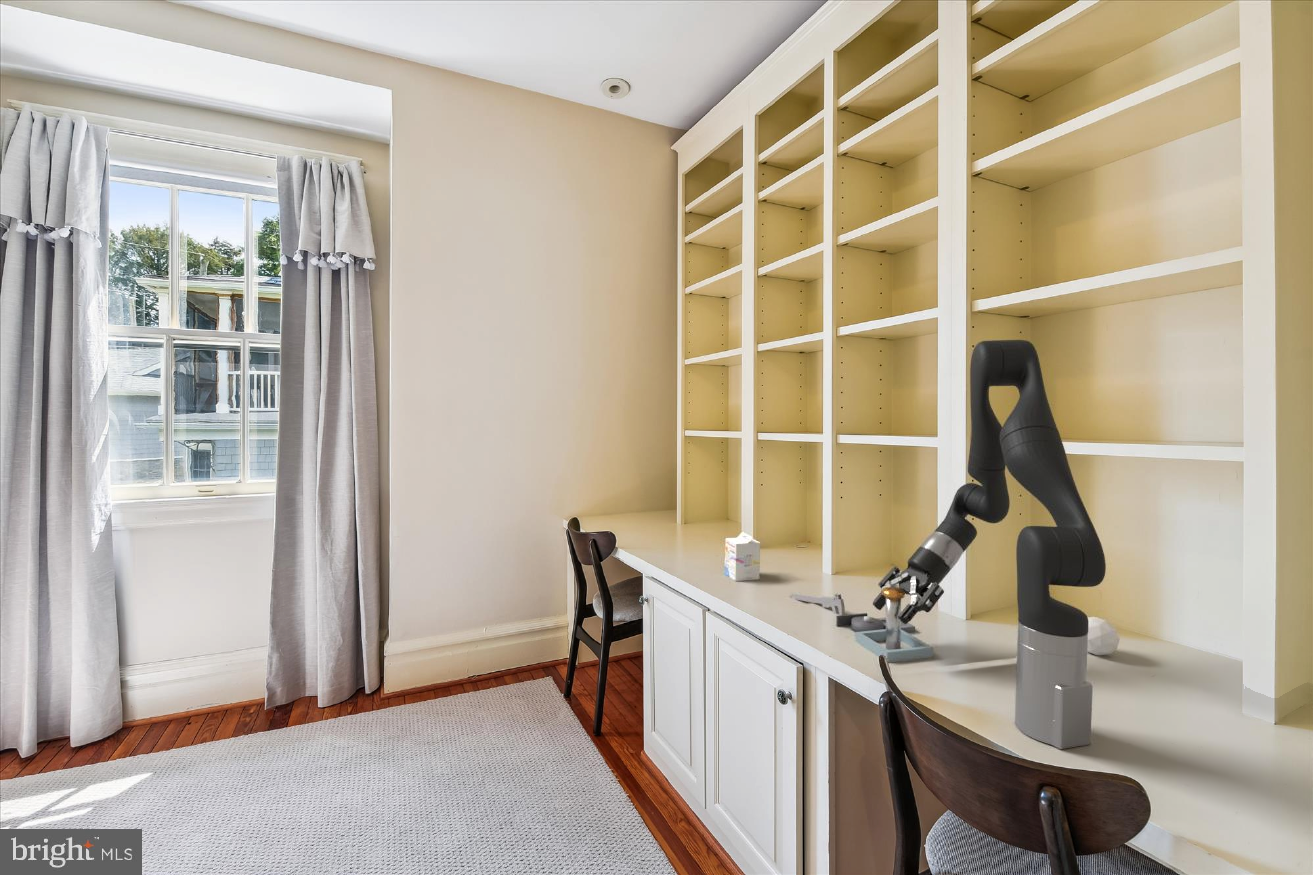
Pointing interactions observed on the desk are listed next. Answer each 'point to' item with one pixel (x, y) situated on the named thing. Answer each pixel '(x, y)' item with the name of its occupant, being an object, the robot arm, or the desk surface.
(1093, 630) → the geometric ball
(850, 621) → the plate
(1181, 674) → the desk surface
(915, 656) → the tray
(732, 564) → the ink box
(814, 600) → the caliper
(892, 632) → the pin
